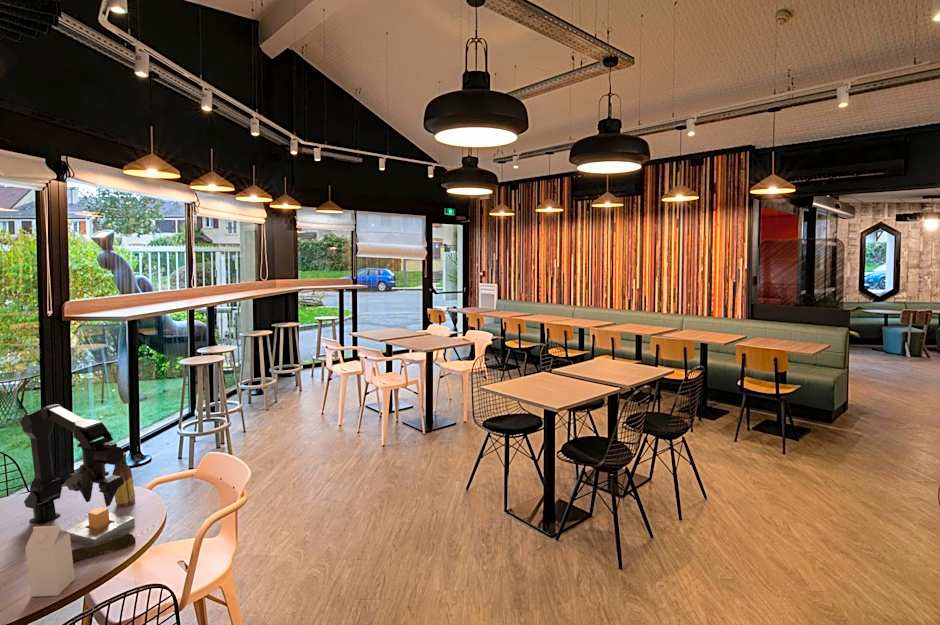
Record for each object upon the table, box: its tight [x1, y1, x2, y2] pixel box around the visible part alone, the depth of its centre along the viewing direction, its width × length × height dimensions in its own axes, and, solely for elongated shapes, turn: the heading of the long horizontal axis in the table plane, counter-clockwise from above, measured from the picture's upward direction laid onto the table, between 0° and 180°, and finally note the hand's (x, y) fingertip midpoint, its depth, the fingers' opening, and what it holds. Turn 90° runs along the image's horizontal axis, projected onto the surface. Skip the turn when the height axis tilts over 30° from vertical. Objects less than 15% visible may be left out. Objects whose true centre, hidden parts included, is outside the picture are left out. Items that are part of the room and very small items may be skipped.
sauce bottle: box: [111, 452, 136, 508], centre depth 194 cm, size 6×6×20 cm
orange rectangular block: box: [87, 506, 110, 531], centre depth 176 cm, size 4×4×8 cm
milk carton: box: [25, 525, 76, 598], centre depth 147 cm, size 7×7×19 cm
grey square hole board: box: [65, 511, 136, 547], centre depth 177 cm, size 14×14×3 cm
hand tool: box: [71, 532, 137, 562], centre depth 165 cm, size 19×4×5 cm, turn 122°
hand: (98, 503), depth 175 cm, fingers open, 9 cm apart
